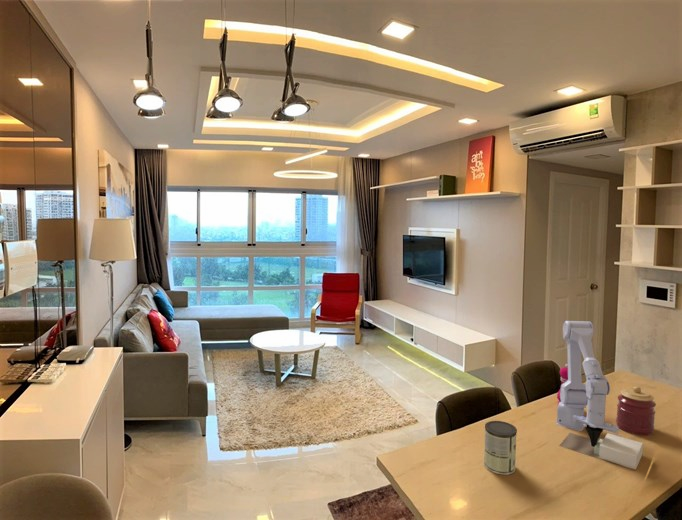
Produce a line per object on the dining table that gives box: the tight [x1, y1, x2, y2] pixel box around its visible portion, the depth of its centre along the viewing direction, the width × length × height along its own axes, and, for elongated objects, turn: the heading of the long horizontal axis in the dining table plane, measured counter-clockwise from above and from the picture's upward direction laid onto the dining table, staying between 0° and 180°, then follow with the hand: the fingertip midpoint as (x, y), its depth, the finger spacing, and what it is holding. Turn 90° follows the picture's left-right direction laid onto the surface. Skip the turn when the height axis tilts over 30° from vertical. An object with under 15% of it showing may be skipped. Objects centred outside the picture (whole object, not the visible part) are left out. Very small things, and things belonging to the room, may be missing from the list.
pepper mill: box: [556, 363, 568, 405], centre depth 198 cm, size 7×7×20 cm
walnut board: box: [558, 432, 643, 472], centre depth 160 cm, size 24×14×1 cm, turn 47°
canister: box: [615, 385, 657, 436], centre depth 177 cm, size 13×13×18 cm
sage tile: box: [594, 438, 604, 455], centre depth 157 cm, size 11×9×2 cm
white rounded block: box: [599, 432, 644, 471], centre depth 156 cm, size 11×12×5 cm
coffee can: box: [483, 420, 518, 476], centre depth 150 cm, size 10×10×14 cm
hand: (593, 445), depth 162 cm, fingers closed
